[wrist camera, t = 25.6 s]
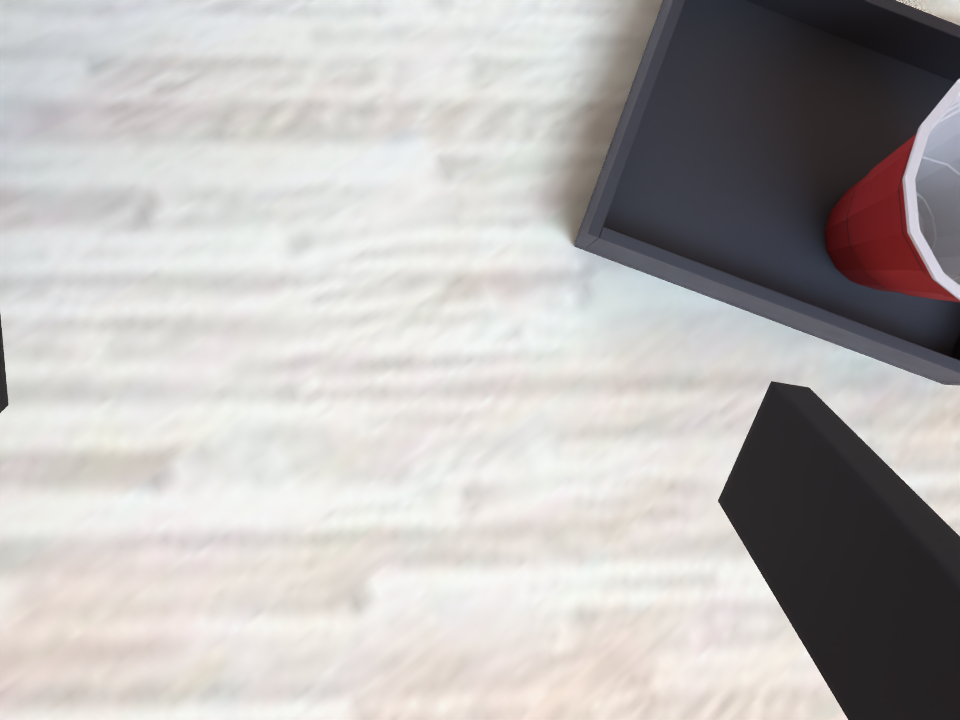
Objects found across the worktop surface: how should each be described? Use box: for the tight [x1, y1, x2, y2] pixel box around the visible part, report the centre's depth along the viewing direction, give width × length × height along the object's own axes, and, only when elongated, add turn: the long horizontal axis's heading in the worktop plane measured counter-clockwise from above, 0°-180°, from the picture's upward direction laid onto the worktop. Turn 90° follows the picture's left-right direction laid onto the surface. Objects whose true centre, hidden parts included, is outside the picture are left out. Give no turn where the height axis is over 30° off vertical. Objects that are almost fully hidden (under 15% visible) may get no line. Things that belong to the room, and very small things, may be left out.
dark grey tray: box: [574, 0, 960, 385], centre depth 37 cm, size 22×16×4 cm
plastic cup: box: [825, 79, 960, 302], centre depth 32 cm, size 11×11×12 cm
